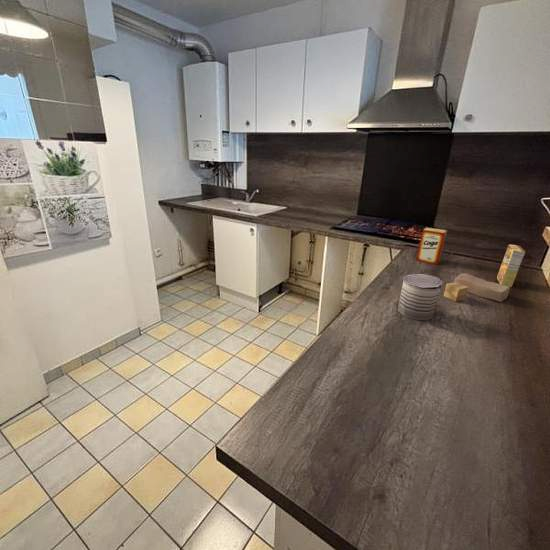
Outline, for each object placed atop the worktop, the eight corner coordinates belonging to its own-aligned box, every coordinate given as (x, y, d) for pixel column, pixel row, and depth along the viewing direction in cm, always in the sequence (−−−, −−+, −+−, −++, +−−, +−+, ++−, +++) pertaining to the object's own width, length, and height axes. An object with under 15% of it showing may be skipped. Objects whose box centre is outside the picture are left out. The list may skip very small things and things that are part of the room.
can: (427, 324, 90) (436, 289, 85) (391, 311, 97) (398, 278, 93) (438, 311, 98) (447, 278, 93) (404, 300, 105) (410, 269, 100)
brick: (507, 296, 109) (511, 285, 107) (500, 303, 104) (504, 291, 102) (460, 282, 121) (462, 272, 119) (451, 287, 116) (454, 277, 114)
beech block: (465, 299, 106) (468, 287, 105) (455, 301, 105) (459, 289, 103) (452, 293, 111) (456, 281, 109) (443, 295, 109) (446, 283, 107)
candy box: (496, 277, 126) (507, 244, 120) (508, 279, 124) (520, 245, 118) (500, 285, 119) (512, 249, 113) (512, 287, 117) (526, 251, 111)
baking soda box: (416, 260, 145) (422, 229, 139) (419, 257, 150) (426, 226, 144) (436, 264, 140) (444, 232, 134) (439, 261, 145) (447, 229, 138)
